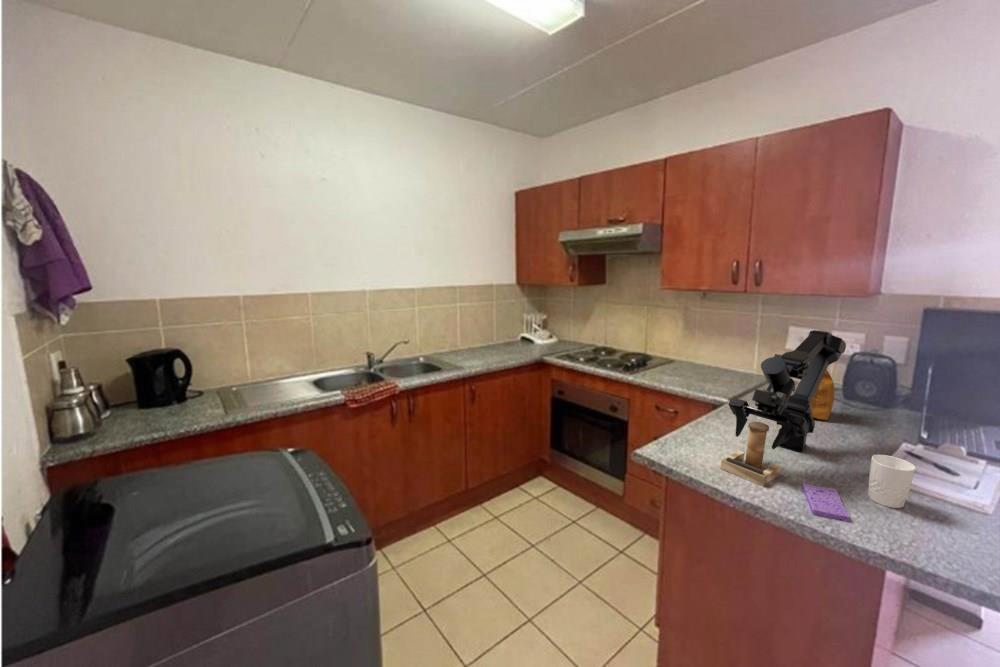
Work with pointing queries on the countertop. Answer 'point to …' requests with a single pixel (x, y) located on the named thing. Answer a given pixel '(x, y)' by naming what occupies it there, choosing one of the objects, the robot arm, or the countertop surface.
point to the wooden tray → (749, 469)
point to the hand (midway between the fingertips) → (754, 441)
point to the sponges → (825, 502)
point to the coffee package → (823, 398)
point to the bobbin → (756, 444)
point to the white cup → (890, 480)
